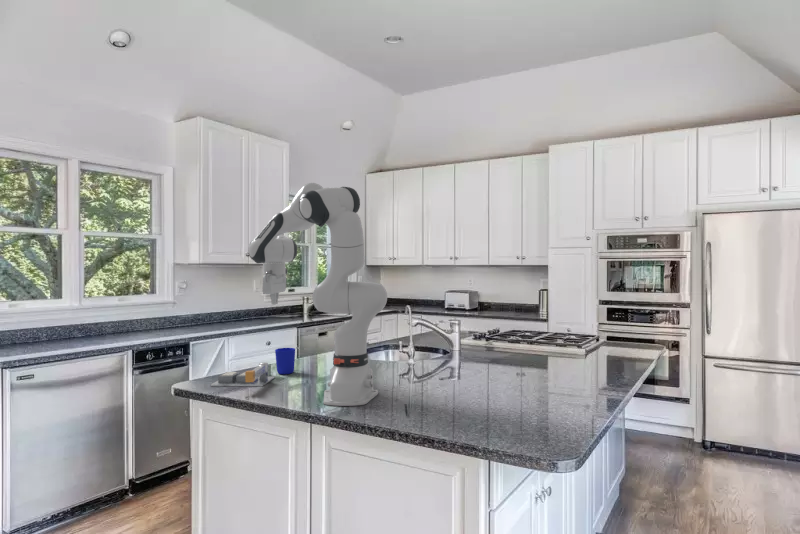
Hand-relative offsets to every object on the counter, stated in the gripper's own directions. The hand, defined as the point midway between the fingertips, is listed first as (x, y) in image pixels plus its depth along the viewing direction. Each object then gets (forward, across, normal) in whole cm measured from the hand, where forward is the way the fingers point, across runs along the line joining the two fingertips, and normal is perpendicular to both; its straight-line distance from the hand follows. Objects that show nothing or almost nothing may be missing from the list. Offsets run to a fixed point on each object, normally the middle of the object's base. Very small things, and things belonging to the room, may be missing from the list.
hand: (274, 304), depth 210 cm
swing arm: (+25, -20, +1) cm, 32 cm away
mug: (+29, +6, -3) cm, 30 cm away
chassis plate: (+29, -12, +9) cm, 33 cm away
